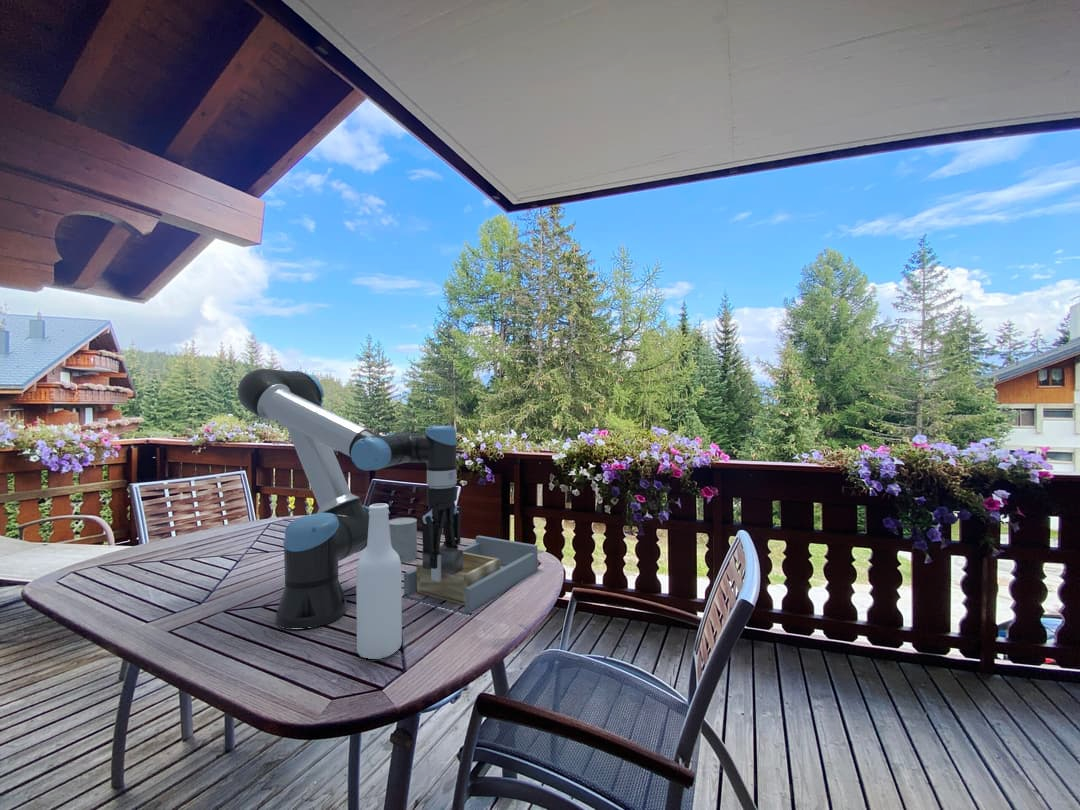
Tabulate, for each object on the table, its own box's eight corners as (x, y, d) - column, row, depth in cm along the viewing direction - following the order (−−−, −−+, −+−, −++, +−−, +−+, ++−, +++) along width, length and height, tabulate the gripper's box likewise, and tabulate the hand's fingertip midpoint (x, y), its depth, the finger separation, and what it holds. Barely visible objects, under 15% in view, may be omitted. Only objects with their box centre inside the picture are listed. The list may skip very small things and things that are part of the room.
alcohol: (403, 656, 92) (402, 507, 92) (355, 665, 89) (354, 511, 89) (400, 636, 100) (399, 499, 100) (357, 643, 97) (356, 502, 97)
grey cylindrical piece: (381, 561, 150) (381, 523, 150) (398, 552, 159) (398, 516, 159) (406, 563, 147) (406, 525, 147) (422, 554, 156) (422, 518, 156)
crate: (463, 608, 111) (463, 556, 111) (412, 594, 120) (412, 546, 120) (500, 586, 125) (499, 540, 125) (452, 575, 133) (451, 532, 133)
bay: (470, 616, 109) (470, 581, 109) (404, 598, 120) (404, 565, 120) (537, 573, 137) (537, 545, 137) (478, 561, 148) (478, 535, 148)
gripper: (429, 492, 108) (430, 592, 108) (474, 482, 123) (475, 569, 123) (406, 490, 112) (407, 586, 112) (452, 480, 127) (453, 564, 126)
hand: (442, 577), depth 117 cm, fingers closed on crate, 4 cm apart
